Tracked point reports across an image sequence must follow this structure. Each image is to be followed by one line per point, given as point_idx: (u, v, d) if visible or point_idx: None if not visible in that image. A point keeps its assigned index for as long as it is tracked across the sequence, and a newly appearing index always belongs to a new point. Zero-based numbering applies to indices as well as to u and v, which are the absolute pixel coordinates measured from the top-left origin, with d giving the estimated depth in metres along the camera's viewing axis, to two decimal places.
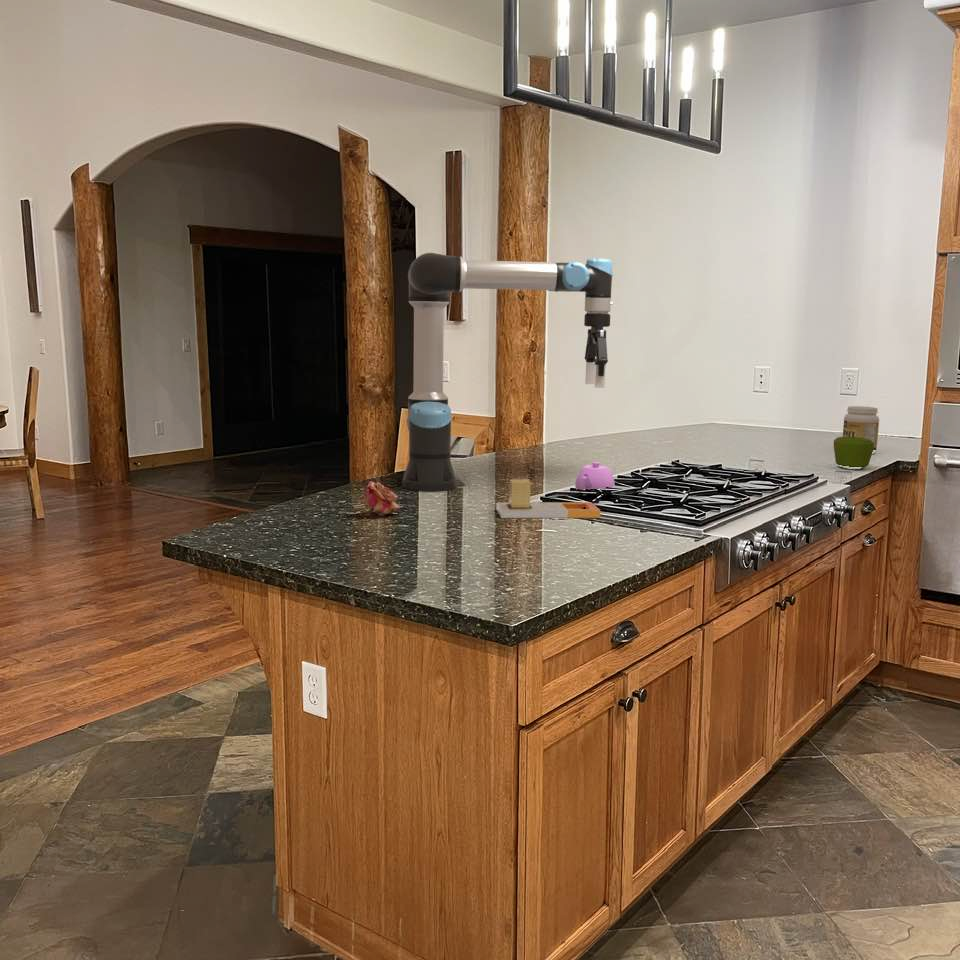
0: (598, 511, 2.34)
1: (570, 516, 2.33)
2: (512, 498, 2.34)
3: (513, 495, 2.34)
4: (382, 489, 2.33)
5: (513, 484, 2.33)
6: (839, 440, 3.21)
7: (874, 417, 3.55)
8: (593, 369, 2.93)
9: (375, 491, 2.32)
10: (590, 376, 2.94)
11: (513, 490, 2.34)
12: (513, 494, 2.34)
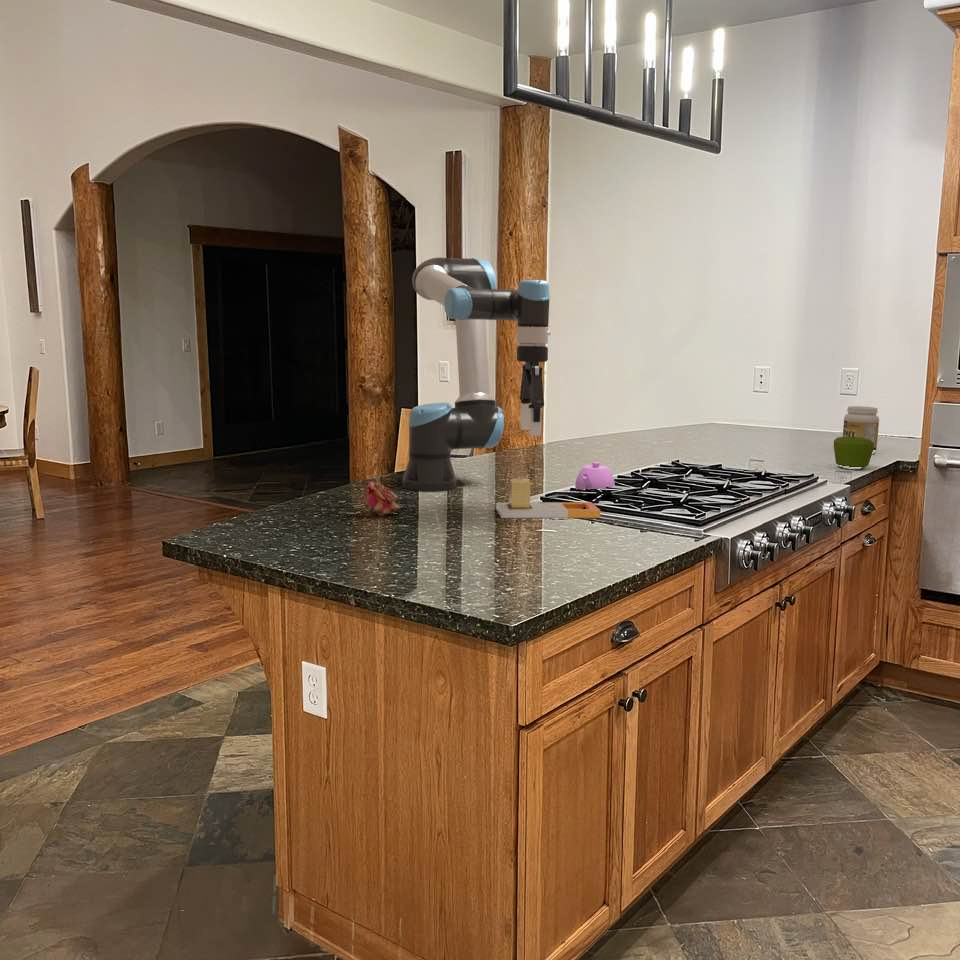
0: (598, 511, 2.34)
1: (570, 516, 2.33)
2: (512, 498, 2.34)
3: (513, 495, 2.34)
4: (382, 489, 2.33)
5: (513, 484, 2.33)
6: (839, 440, 3.21)
7: (874, 417, 3.55)
8: (529, 412, 2.45)
9: (375, 491, 2.32)
10: (526, 420, 2.45)
11: (513, 490, 2.34)
12: (513, 494, 2.34)
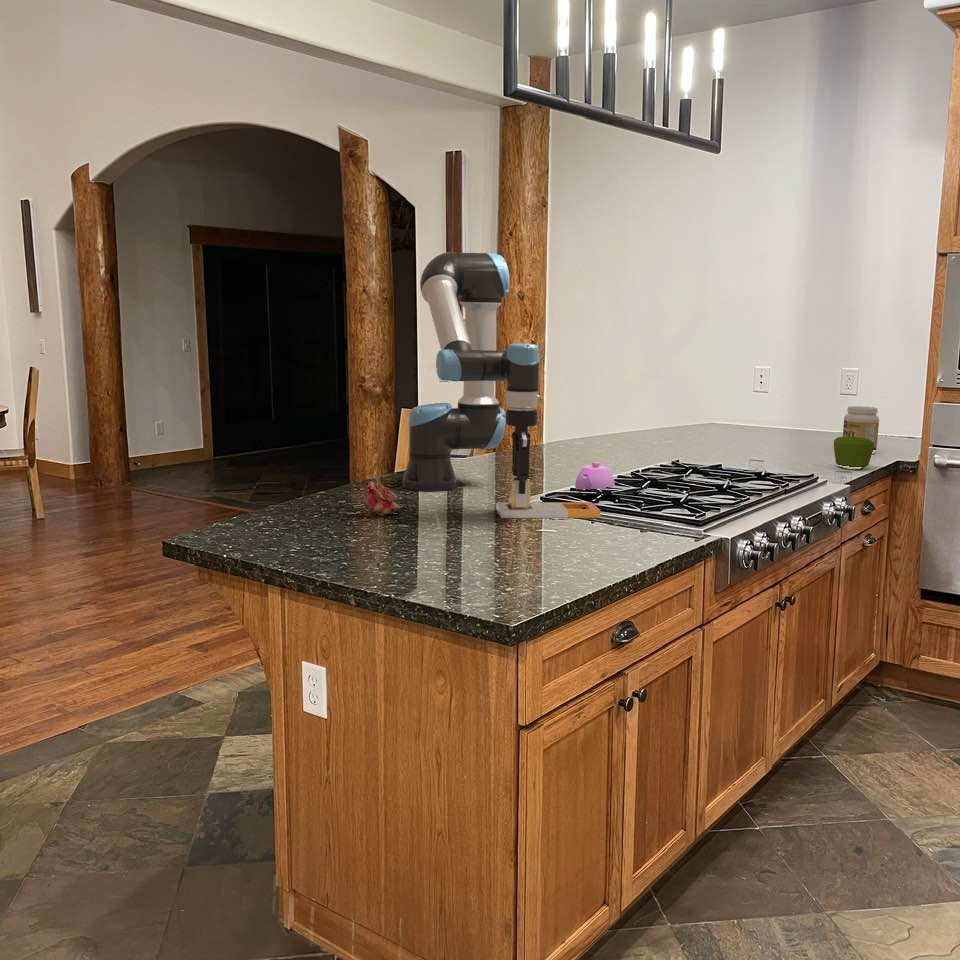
0: (598, 511, 2.34)
1: (570, 516, 2.33)
2: (512, 498, 2.34)
3: (513, 495, 2.34)
4: (382, 489, 2.33)
5: (513, 484, 2.34)
6: (839, 440, 3.21)
7: (874, 417, 3.55)
8: None
9: (375, 491, 2.32)
10: None
11: (513, 490, 2.34)
12: (513, 494, 2.34)
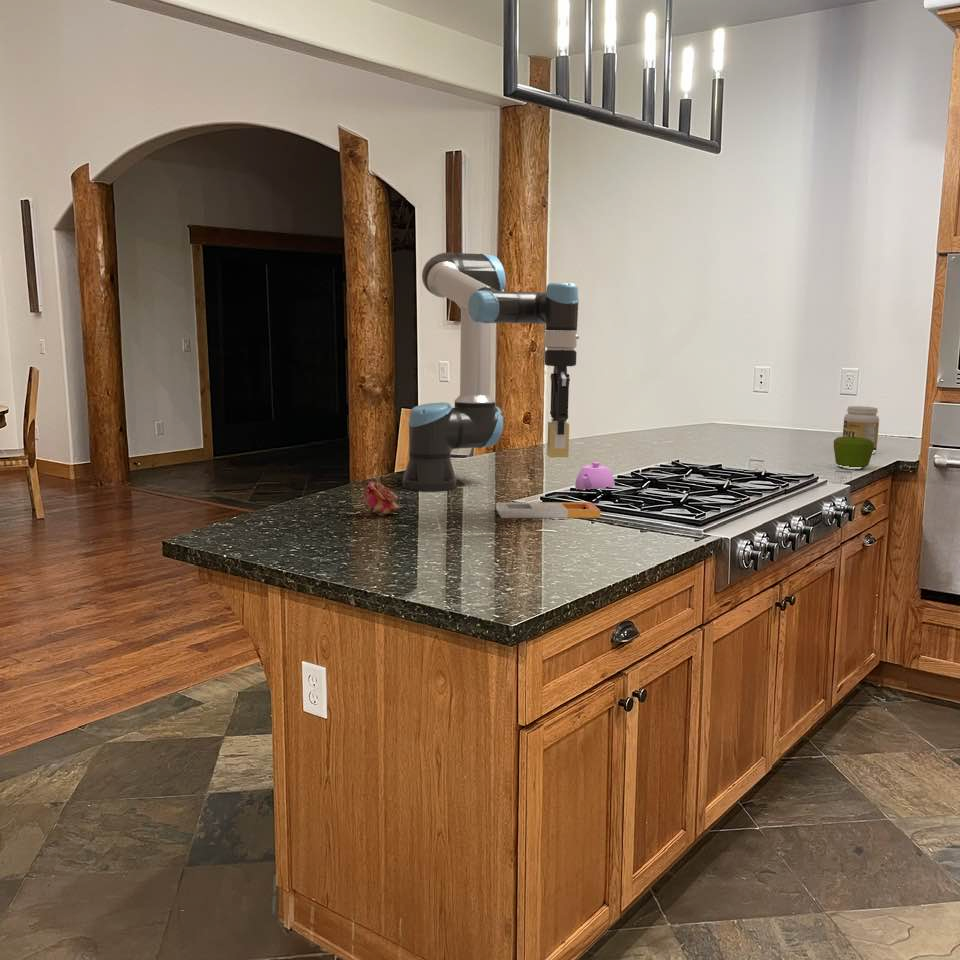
0: (598, 511, 2.34)
1: (570, 516, 2.33)
2: (551, 439, 2.32)
3: (552, 436, 2.32)
4: (382, 489, 2.33)
5: (552, 425, 2.32)
6: (839, 440, 3.21)
7: (874, 417, 3.55)
8: None
9: (375, 491, 2.32)
10: None
11: (552, 431, 2.32)
12: (552, 435, 2.32)
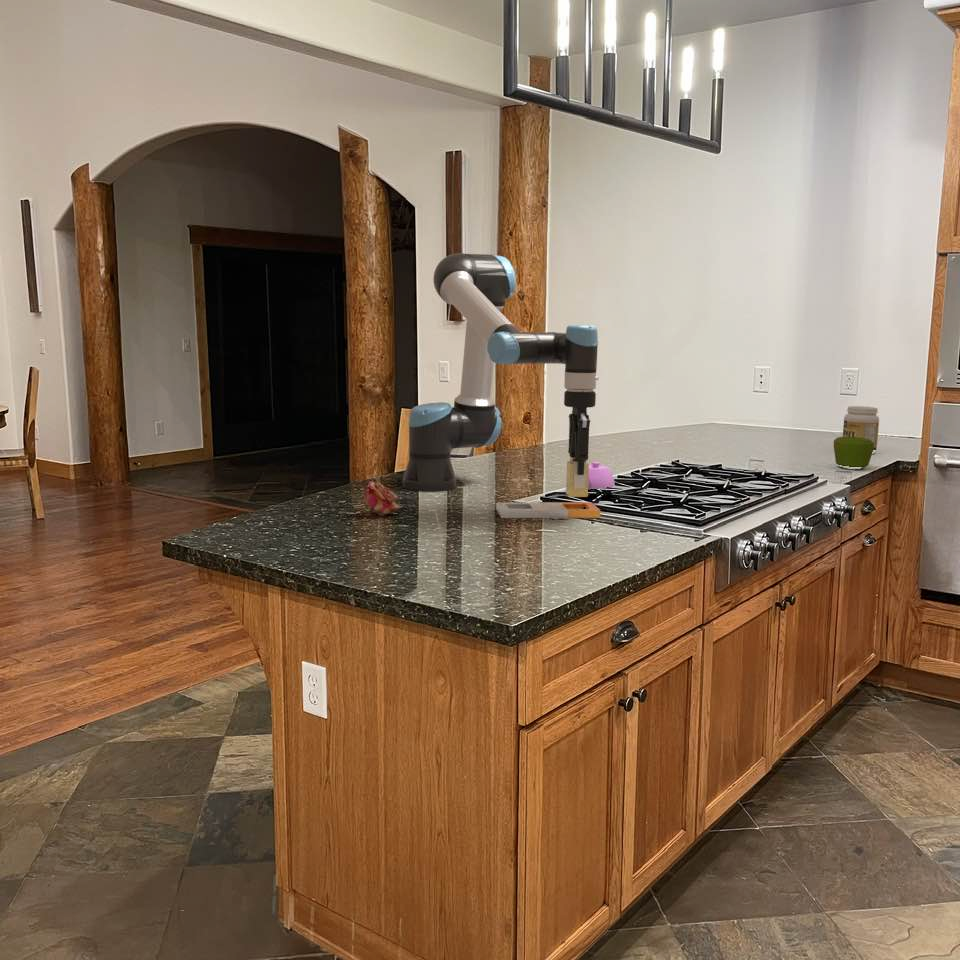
0: (598, 511, 2.34)
1: (570, 516, 2.33)
2: (570, 479, 2.35)
3: (571, 476, 2.34)
4: (382, 489, 2.33)
5: (571, 465, 2.34)
6: (839, 440, 3.21)
7: (874, 417, 3.55)
8: None
9: (375, 491, 2.32)
10: None
11: (571, 471, 2.34)
12: (571, 475, 2.34)
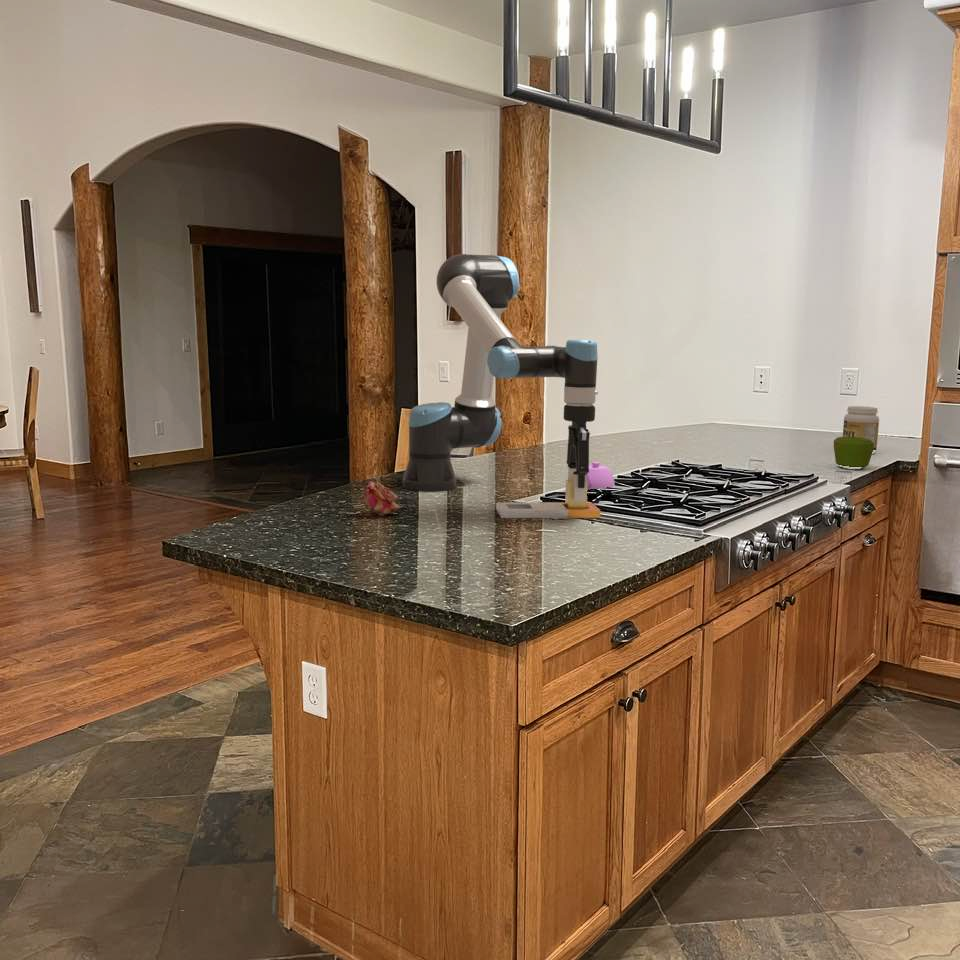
0: (598, 511, 2.34)
1: (570, 516, 2.33)
2: (569, 498, 2.36)
3: (570, 495, 2.35)
4: (382, 489, 2.33)
5: (570, 484, 2.35)
6: (839, 440, 3.21)
7: (874, 417, 3.55)
8: None
9: (375, 491, 2.32)
10: None
11: (570, 490, 2.35)
12: (570, 494, 2.35)
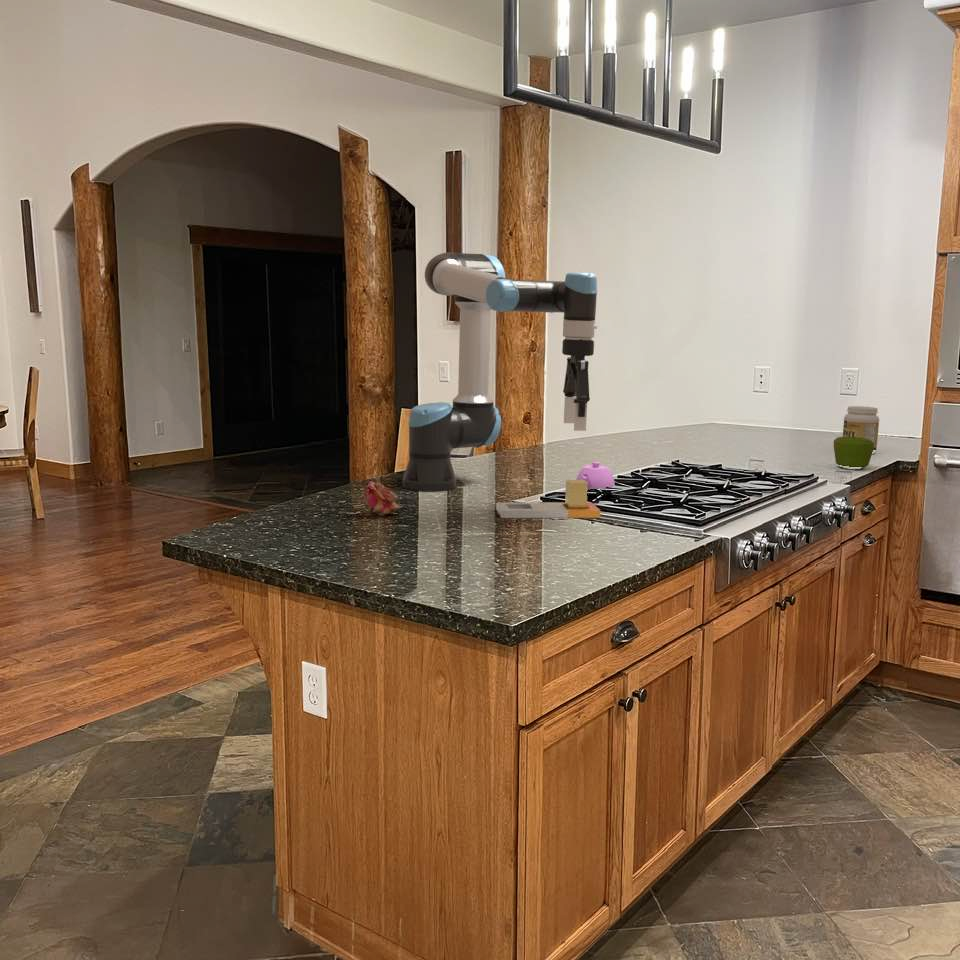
0: (598, 511, 2.34)
1: (570, 516, 2.33)
2: (569, 498, 2.36)
3: (570, 495, 2.35)
4: (382, 489, 2.33)
5: (570, 484, 2.35)
6: (839, 440, 3.21)
7: (874, 417, 3.55)
8: (573, 405, 2.42)
9: (375, 491, 2.32)
10: (569, 414, 2.43)
11: (570, 490, 2.35)
12: (570, 494, 2.35)
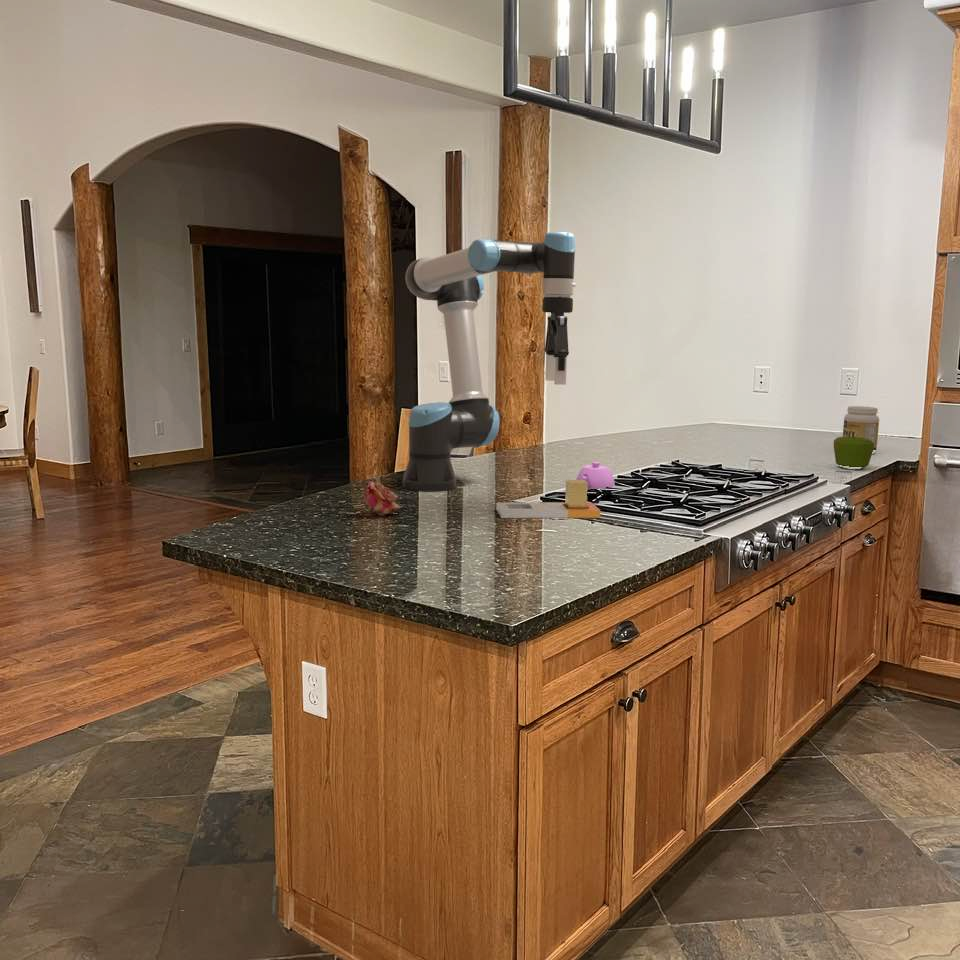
0: (598, 511, 2.34)
1: (570, 516, 2.33)
2: (569, 498, 2.36)
3: (570, 495, 2.35)
4: (382, 489, 2.33)
5: (570, 484, 2.35)
6: (839, 440, 3.21)
7: (874, 417, 3.55)
8: (554, 363, 2.50)
9: (375, 491, 2.32)
10: (551, 371, 2.51)
11: (570, 490, 2.35)
12: (570, 494, 2.35)
